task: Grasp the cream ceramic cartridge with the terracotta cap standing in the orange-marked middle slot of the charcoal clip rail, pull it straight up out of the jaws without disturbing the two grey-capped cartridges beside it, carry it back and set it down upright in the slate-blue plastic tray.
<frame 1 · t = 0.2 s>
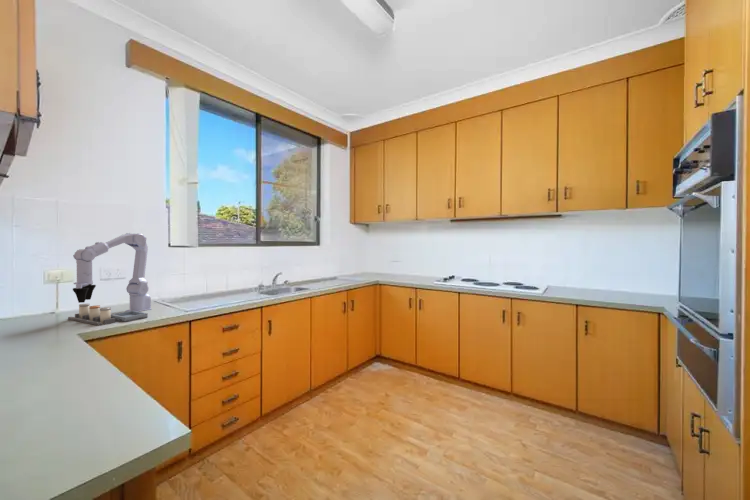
hand: (84, 300, 160), 10 cm above the countertop, fingers open, 7 cm apart
fuse a: (84, 318, 165), resting in clip rail
tray: (129, 318, 167), on the countertop
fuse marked: (94, 320, 161), resting in clip rail
fuse b: (105, 322, 158), resting in clip rail
clip rail: (94, 320, 161), on the countertop
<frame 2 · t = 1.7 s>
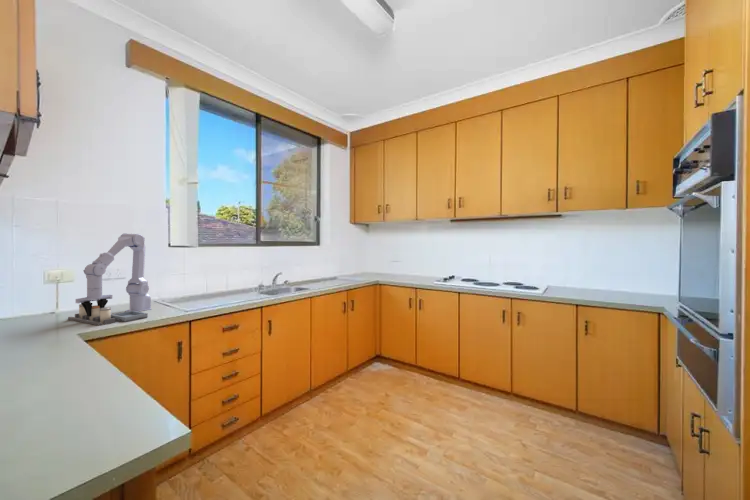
hand: (94, 315, 161), 2 cm above the countertop, fingers closed on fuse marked, 4 cm apart
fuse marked: (94, 320, 161), resting in clip rail, touching gripper
everything else where it was.
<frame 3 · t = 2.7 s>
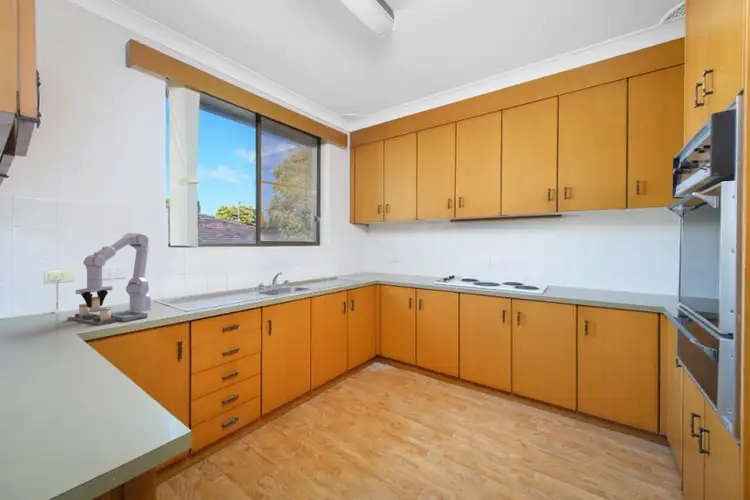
hand: (94, 306, 161), 7 cm above the countertop, fingers closed on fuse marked, 4 cm apart
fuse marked: (94, 311, 161), point 4 cm above the countertop, touching gripper
everything else where it was.
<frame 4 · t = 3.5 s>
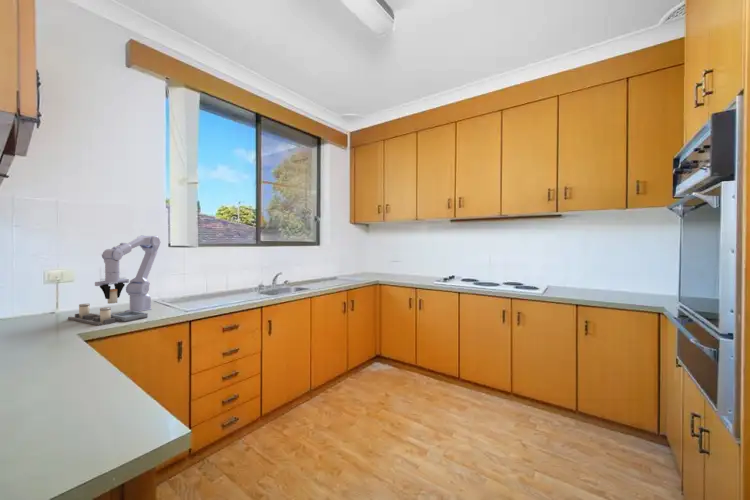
hand: (112, 298, 168), 10 cm above the countertop, fingers closed on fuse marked, 4 cm apart
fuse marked: (112, 302, 168), point 7 cm above the countertop, touching gripper
everything else where it was.
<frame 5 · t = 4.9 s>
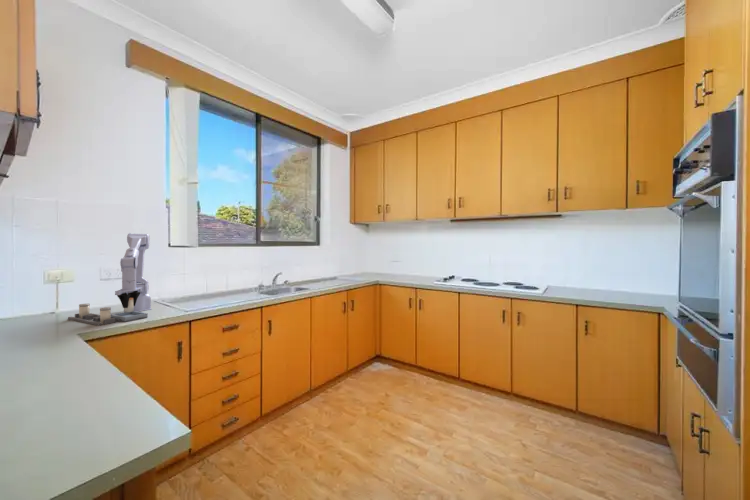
hand: (129, 306, 167), 6 cm above the countertop, fingers closed on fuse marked, 4 cm apart
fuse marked: (128, 311, 167), point 3 cm above the countertop, touching gripper
everything else where it was.
when the fingers open (4 cm above the countertop, at t = 5.6 s): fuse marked drops 1 cm, resting on tray.
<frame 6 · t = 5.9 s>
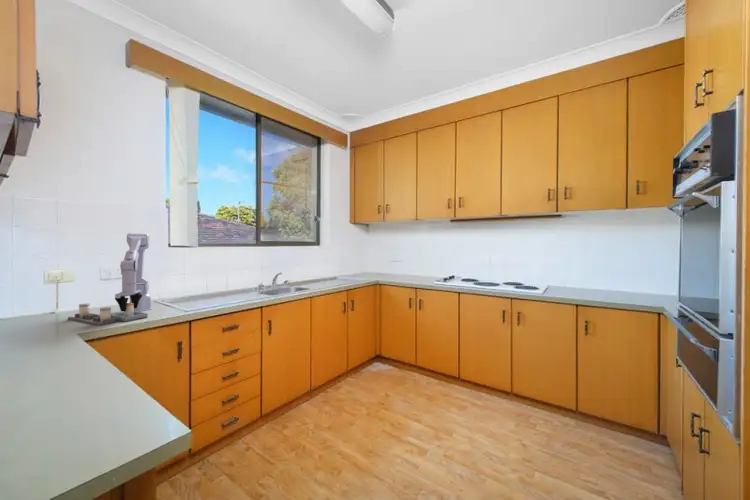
hand: (129, 309, 167), 4 cm above the countertop, fingers open, 6 cm apart
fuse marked: (128, 316, 167), point 1 cm above the countertop, touching tray
everything else where it was.
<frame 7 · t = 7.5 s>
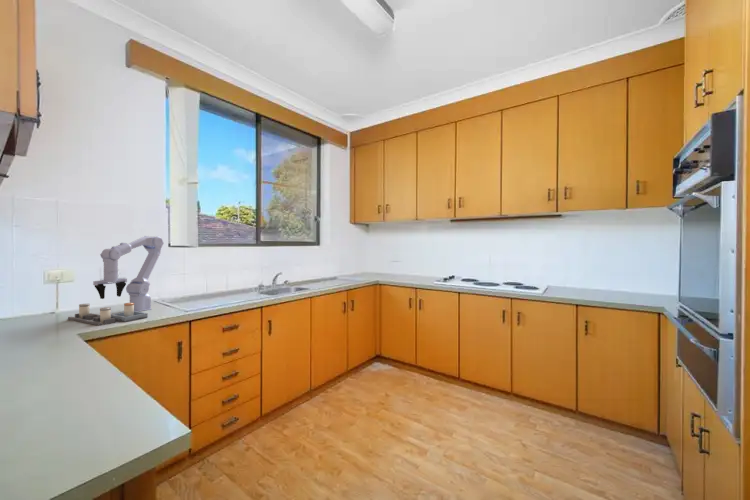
hand: (110, 297, 169), 10 cm above the countertop, fingers open, 7 cm apart
nothing on the countertop moved.
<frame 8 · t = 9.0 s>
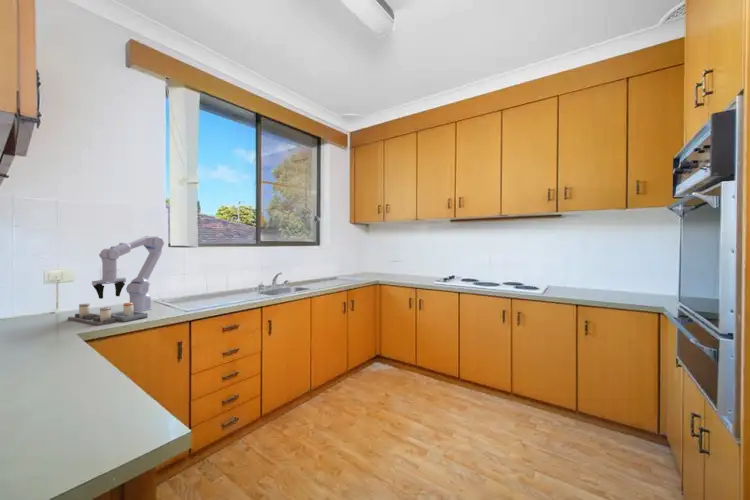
hand: (109, 297, 170), 10 cm above the countertop, fingers open, 7 cm apart
nothing on the countertop moved.
at the end: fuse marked inside the target area on the tray (0.1 cm from its centre), point 0.7 cm above the tray's base; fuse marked tilted 2°; fuse b moved 0.0 cm from its start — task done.
